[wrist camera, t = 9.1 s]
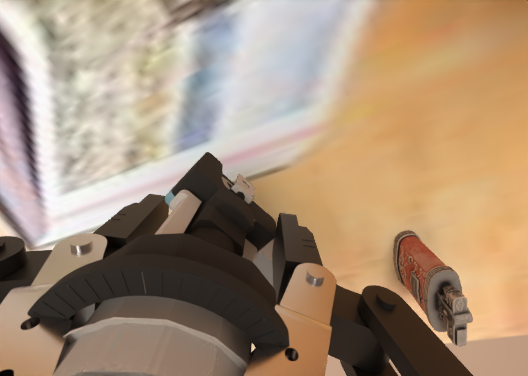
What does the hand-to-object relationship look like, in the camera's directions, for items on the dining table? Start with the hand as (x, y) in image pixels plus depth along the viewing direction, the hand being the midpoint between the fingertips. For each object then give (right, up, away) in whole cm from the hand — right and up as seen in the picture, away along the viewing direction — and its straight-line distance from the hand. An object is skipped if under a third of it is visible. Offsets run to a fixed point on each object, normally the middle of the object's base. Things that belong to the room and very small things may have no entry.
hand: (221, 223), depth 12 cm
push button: (0, +1, +2) cm, 2 cm away
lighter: (+20, -7, +21) cm, 30 cm away
